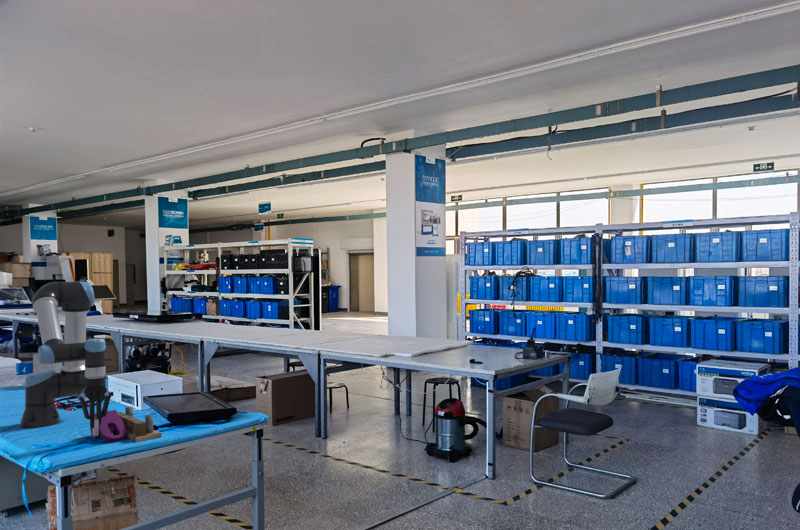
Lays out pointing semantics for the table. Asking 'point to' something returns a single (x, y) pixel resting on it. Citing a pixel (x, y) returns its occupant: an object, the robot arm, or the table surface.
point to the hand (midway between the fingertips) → (95, 435)
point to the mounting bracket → (111, 427)
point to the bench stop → (138, 426)
